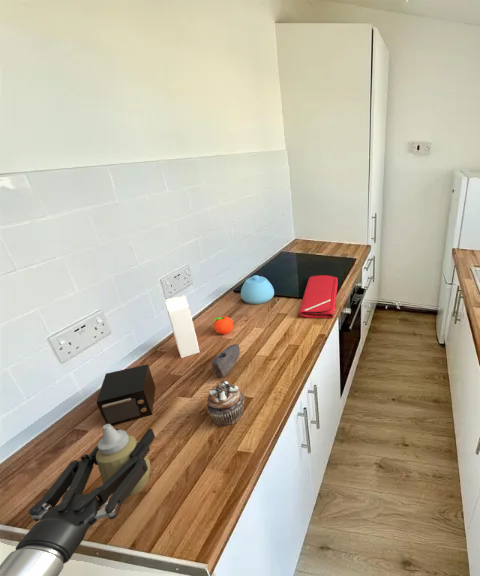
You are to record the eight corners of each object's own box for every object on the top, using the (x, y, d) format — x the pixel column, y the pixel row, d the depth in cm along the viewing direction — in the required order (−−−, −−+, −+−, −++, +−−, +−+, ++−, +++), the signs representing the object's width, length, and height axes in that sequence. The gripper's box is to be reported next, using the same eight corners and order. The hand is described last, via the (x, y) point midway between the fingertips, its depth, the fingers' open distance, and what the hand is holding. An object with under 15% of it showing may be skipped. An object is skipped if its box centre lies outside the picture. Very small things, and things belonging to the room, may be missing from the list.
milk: (178, 350, 118) (162, 296, 108) (196, 344, 121) (183, 291, 112) (181, 358, 113) (165, 303, 104) (200, 352, 117) (187, 298, 107)
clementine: (211, 338, 125) (208, 323, 122) (213, 329, 130) (210, 314, 127) (234, 336, 127) (231, 320, 124) (235, 326, 133) (232, 311, 130)
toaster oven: (106, 431, 86) (94, 405, 82) (115, 397, 96) (105, 373, 92) (151, 418, 90) (142, 393, 86) (155, 387, 101) (148, 364, 97)
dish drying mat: (338, 280, 179) (338, 274, 178) (334, 318, 143) (334, 311, 141) (309, 279, 178) (309, 273, 176) (297, 318, 141) (297, 311, 139)
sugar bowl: (234, 302, 151) (230, 280, 146) (253, 289, 164) (250, 268, 159) (264, 307, 148) (261, 284, 143) (280, 293, 161) (278, 272, 156)
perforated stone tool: (232, 353, 118) (230, 337, 115) (246, 354, 117) (244, 338, 114) (209, 381, 104) (205, 364, 101) (224, 382, 104) (221, 365, 101)
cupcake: (201, 423, 89) (194, 396, 85) (226, 398, 98) (220, 372, 94) (231, 432, 87) (225, 404, 83) (253, 406, 96) (249, 380, 91)
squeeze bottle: (150, 460, 76) (127, 403, 68) (159, 485, 71) (136, 427, 63) (106, 483, 71) (76, 424, 63) (112, 512, 66) (81, 452, 58)
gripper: (-17, 572, 51) (93, 445, 72) (113, 568, 53) (184, 444, 73) (-41, 546, 48) (81, 420, 69) (98, 542, 49) (177, 420, 70)
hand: (134, 433), depth 71 cm, fingers closed on squeeze bottle, 6 cm apart
